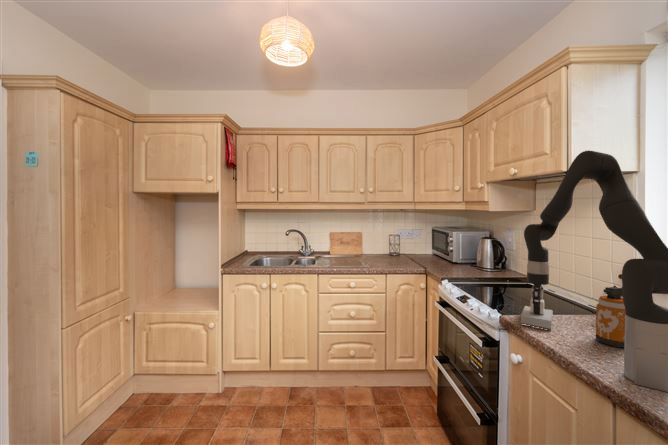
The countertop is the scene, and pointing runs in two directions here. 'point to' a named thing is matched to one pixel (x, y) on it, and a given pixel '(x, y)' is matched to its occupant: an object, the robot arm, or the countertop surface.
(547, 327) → the grey rectangular block
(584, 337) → the countertop surface
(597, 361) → the countertop surface
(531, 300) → the cream rectangular block
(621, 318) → the canister
